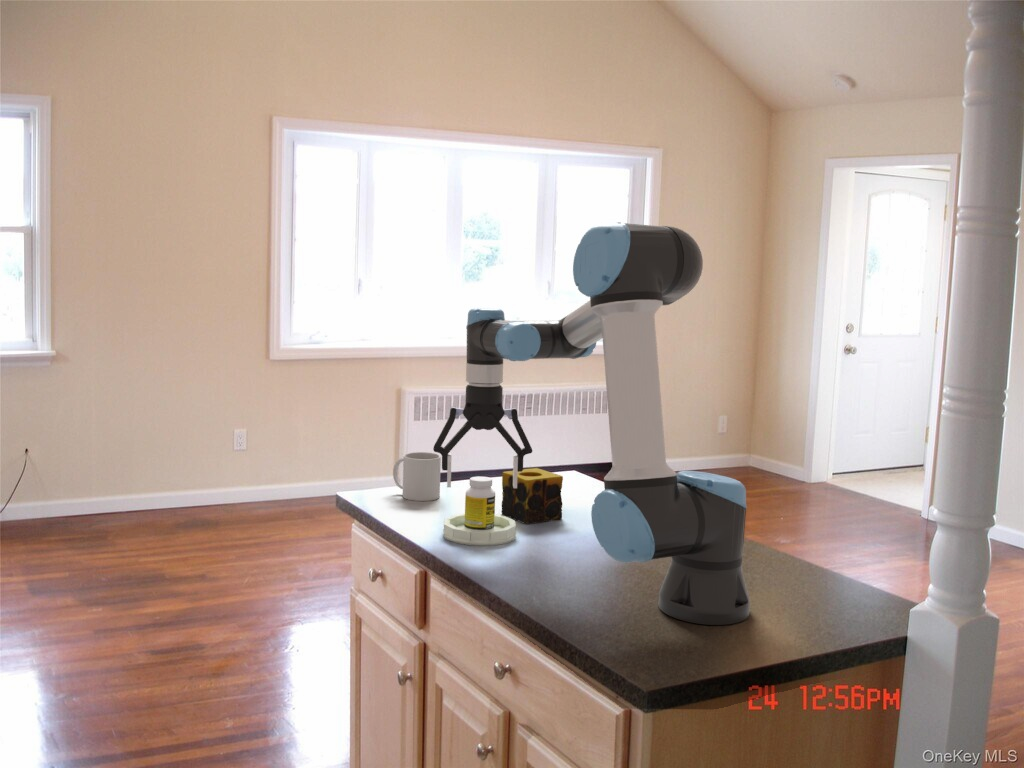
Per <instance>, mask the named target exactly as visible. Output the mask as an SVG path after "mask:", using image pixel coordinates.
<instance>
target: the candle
mask: <svg viewBox="0 0 1024 768" xmlns="http://www.w3.org/2000/svg"><path fill="white" fill-rule="evenodd" d="M501 477H502V478H501V483H502V484H501V489H502V494H501V495H502V501H501V515H502V516H505V517H508V518H510V519H512V520H515V521H519V522H520V523H522V524H525V525H532V524H537V523H544V522H549V521H557V520H558V521H559V520H562V519H563V512H562V511H563V510H562V509H563V501H562V500H563V499H562V488H563V480H564V477H563V475H561V474H557V473H554V472H551V471H548V470H544V469H541V468H538V467H534V468H523V470H522V472H518V474H517V488H513V470H508V471H503V472H502V476H501Z"/></svg>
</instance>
